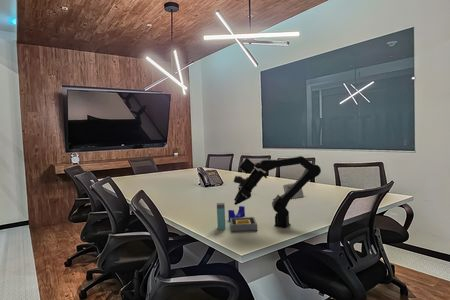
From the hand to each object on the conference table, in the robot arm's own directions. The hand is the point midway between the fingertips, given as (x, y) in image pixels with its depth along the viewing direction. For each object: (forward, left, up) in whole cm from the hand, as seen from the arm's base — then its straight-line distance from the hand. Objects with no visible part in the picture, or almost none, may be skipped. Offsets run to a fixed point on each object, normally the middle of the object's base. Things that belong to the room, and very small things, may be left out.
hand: (234, 202), depth 157 cm
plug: (+5, +6, -13) cm, 15 cm away
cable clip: (+9, -14, -14) cm, 22 cm away
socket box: (-4, -1, -13) cm, 14 cm away
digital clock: (+4, -80, -13) cm, 81 cm away
